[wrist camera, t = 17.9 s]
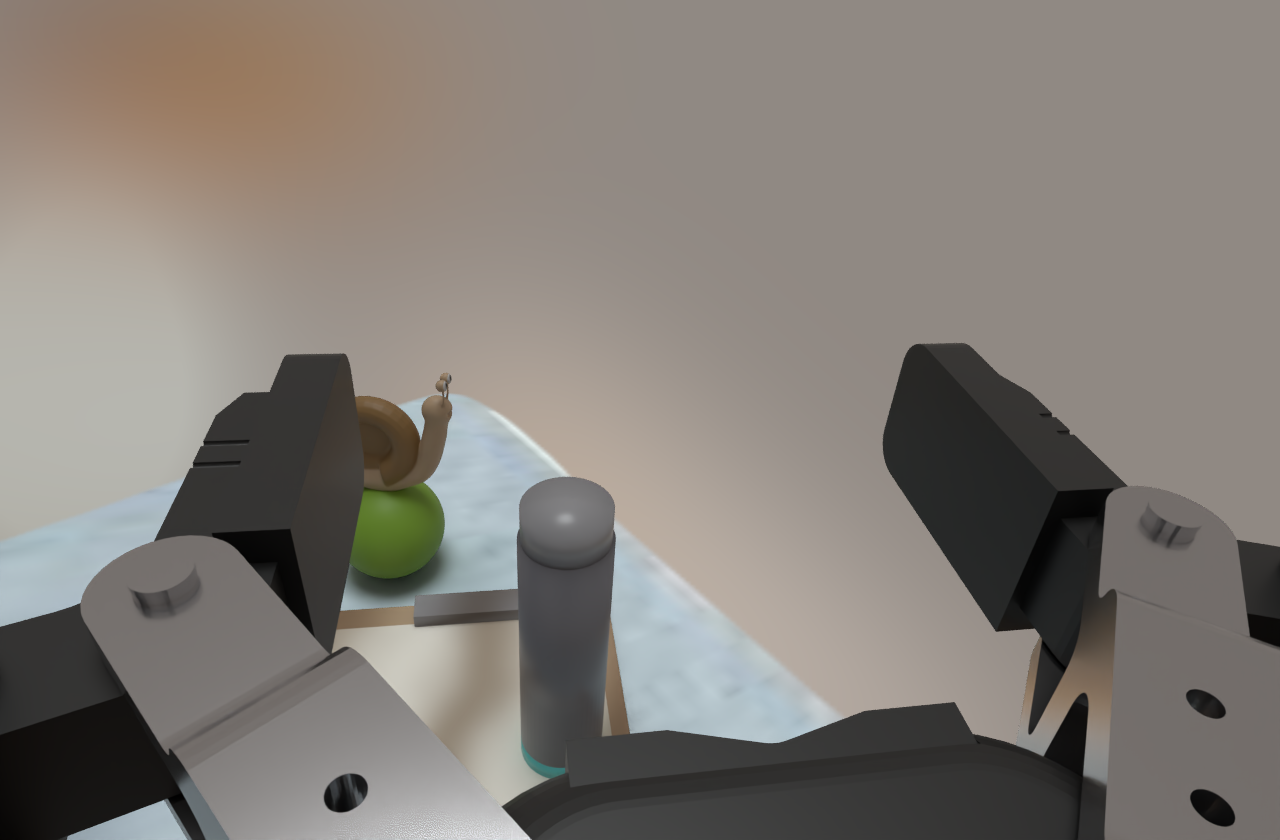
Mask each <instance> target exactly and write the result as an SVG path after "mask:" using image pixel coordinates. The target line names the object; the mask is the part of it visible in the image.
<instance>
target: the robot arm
mask: <svg viewBox="0 0 1280 840" xmlns="http://www.w3.org/2000/svg"><path fill="white" fill-rule="evenodd" d="M1069 431H1070V430H1069V429H1068V428H1067V427H1066V426H1065V425H1064V424H1063V423H1062V422H1060V420H1058V419H1057V418H1056V417H1053V418H1052V413H1051V412H1050V411H1049V410H1048V409H1047V408H1046V407H1045V406H1044V405H1043V404H1042V403H1041V402H1040V401H1039V400H1038V399H1037V398H1035V397H1034V396H1033V395H1032V394H1031V393H1030V392H1028V391H1027V390H1025V389H1023V388H1022V387H1020V386H1018V385H1016V384H1015V383H1013V382H1011V381H1009V380H1007V379H1006V378H1004V377H1002V376H1000V375H999V374H998V373H997V372H996V371H995V370H994V369H993V368H992V367H991V366H990V365H989V364H988V363H987V362H986V361H985V360H984V359H983V358H982V357H981V356H980V355H979V354H978V353H977V352H976V351H974V349H973V348H971V347H970V346H969V345H967V344H964V343H946V344H916V345H914V346H912V347H911V348H910V349H909V350H908V352H907V353H906V356H905V358H904V361H903V364H902V368H901V372H900V375H899V379H898V382H897V386H896V390H895V393H894V397H893V401H892V404H891V408H890V411H889V415H888V419H887V423H886V426H885V430H884V435H883V453H884V459H885V463H886V466H887V468H888V470H889V472H890V474H891V475H892V477H893V478H894V480H895V481H896V483H897V484H898V486H899V487H900V489H901V490H902V492H903V493H904V495H905V496H906V498H907V499H908V501H909V502H910V504H911V505H912V507H913V508H914V510H915V511H916V513H917V514H918V516H919V517H920V519H921V520H922V522H923V523H924V524H925V526H926V528H927V529H928V531H929V532H930V534H931V535H932V537H933V538H934V540H935V541H936V543H937V544H938V545H939V547H940V548H941V550H942V551H943V553H944V554H945V556H946V557H947V559H948V561H949V562H950V564H951V565H952V567H953V568H954V569H955V571H956V572H957V574H958V575H959V577H960V578H961V580H962V581H963V583H964V584H965V586H966V587H967V589H968V590H969V592H970V593H971V595H972V596H973V598H974V599H975V601H976V602H977V604H978V605H979V606H980V608H981V610H982V611H983V613H984V614H985V616H986V617H987V619H988V620H989V622H990V623H991V625H992V626H993V628H994V629H995V631H996V632H998V631H1010V630H1022V629H1034V628H1035V629H1036V631H1037V632H1038V633H1039V635H1040V637H1039V639H1038V641H1037V643H1036V645H1035V648H1034V649H1033V652H1032V655H1031V659H1030V665H1029V670H1028V677H1027V683H1026V689H1025V695H1024V700H1023V707H1022V712H1021V718H1020V725H1019V730H1018V736H1017V742H1016V745H1013V744H1010V743H1007V742H1004V741H1001V740H996V739H992V738H988V737H984V736H980V735H975V734H972V732H971V731H970V729H969V727H968V725H967V723H966V722H965V720H964V718H963V716H962V715H961V713H960V711H959V709H958V707H957V706H956V704H955V703H954V702H952V703H942V704H932V705H921V706H912V707H902V708H890V709H880V710H871V711H864V712H861V713H858V714H856V715H853V716H850V717H848V718H845V719H842V720H840V721H837V722H835V723H832V724H829V725H827V726H824V727H821V728H819V729H816V730H813V731H811V732H808V733H805V734H803V735H800V736H798V737H795V738H792V739H790V740H787V741H784V742H780V743H760V742H752V741H745V740H737V739H730V738H722V737H715V736H707V735H699V734H692V733H684V732H677V731H669V730H665V731H654V732H644V733H634V734H623V735H613V736H603V737H593V738H582V739H572V740H566V750H565V773H564V774H562V775H559V776H557V777H554V778H551V779H549V780H546V781H544V782H542V783H540V784H538V785H536V786H535V787H533V788H531V789H529V790H527V791H525V792H523V793H521V794H519V795H518V796H516V797H515V798H513V799H512V800H510V801H509V802H507V803H506V804H504V805H503V806H500V805H499V804H498V803H497V802H496V800H495V799H494V798H493V797H492V796H491V795H490V794H489V793H488V792H487V791H486V790H485V788H484V787H483V786H482V785H481V784H480V783H479V782H478V781H477V780H476V779H475V778H474V776H473V775H472V774H471V773H470V772H469V771H468V770H467V769H466V768H465V767H464V766H463V765H462V763H461V762H460V761H459V760H458V759H457V758H456V757H455V756H454V755H453V754H452V753H451V751H450V750H449V749H448V748H447V747H446V746H445V745H444V744H443V743H442V742H441V741H440V739H439V738H438V737H437V736H436V735H435V734H434V733H433V732H432V731H431V730H430V729H429V727H428V726H427V725H426V724H425V723H424V722H423V721H422V720H421V719H420V718H419V717H418V716H417V714H416V713H415V712H414V711H413V710H412V709H411V708H410V707H409V706H408V705H407V704H406V702H405V701H404V700H403V699H402V698H401V697H400V696H399V695H398V694H397V693H396V692H395V690H394V689H393V688H392V687H391V686H390V685H389V684H388V683H387V682H386V681H385V680H384V678H383V677H382V676H381V675H380V674H379V673H378V672H377V671H376V670H375V669H374V668H373V667H372V665H371V664H370V663H369V662H368V661H367V660H366V659H365V658H364V657H363V656H362V655H361V654H360V653H358V652H357V651H356V650H354V649H352V648H351V647H347V646H346V647H342V648H341V649H339V650H337V651H335V652H334V653H332V649H333V644H334V639H335V634H336V629H337V624H338V619H339V613H340V608H341V603H342V598H343V593H344V588H345V583H346V578H347V573H348V567H349V562H350V557H351V552H352V547H353V542H354V537H355V532H356V527H357V522H358V516H359V511H360V506H361V501H362V496H363V488H364V456H363V447H362V441H361V434H360V428H359V421H358V414H357V408H356V401H355V395H354V388H353V381H352V375H351V369H350V364H349V361H348V358H347V356H346V354H300V355H299V354H298V355H286V356H285V357H284V359H283V361H282V363H281V366H280V368H279V370H278V373H277V375H276V378H275V380H274V383H273V385H272V387H271V390H270V392H259V393H258V392H257V393H243V394H242V395H241V396H240V397H238V398H237V399H236V400H235V401H233V402H232V403H231V404H230V405H228V406H227V407H226V408H225V409H223V410H222V411H221V412H220V413H219V414H217V415H216V417H215V419H214V421H213V423H212V425H211V427H210V429H209V431H208V433H207V435H206V437H205V439H204V441H203V442H204V446H201V447H200V449H199V451H198V453H197V455H196V457H195V459H194V462H193V468H190V469H189V472H188V473H187V475H186V478H185V480H184V482H183V484H182V486H181V488H180V490H179V492H178V494H177V496H176V498H175V500H174V502H173V504H172V506H171V508H170V510H169V512H168V514H167V516H166V518H165V520H164V522H163V524H162V526H161V528H160V530H159V532H158V534H157V536H156V538H155V540H154V542H150V543H148V544H145V545H142V546H140V547H137V548H135V549H133V550H131V551H129V552H127V553H125V554H123V555H122V556H120V557H118V558H117V559H115V560H113V561H112V562H111V563H109V564H108V565H107V566H105V567H104V568H103V569H102V570H101V571H100V572H99V573H98V574H97V575H96V576H95V577H94V578H93V579H92V581H91V582H90V583H89V585H88V586H87V588H86V590H85V592H84V594H83V596H82V600H81V603H80V604H77V605H75V606H72V607H69V608H66V609H63V610H60V611H57V612H53V613H50V614H46V615H42V616H39V617H35V618H31V619H28V620H24V621H20V622H16V623H13V624H9V625H5V626H2V627H0V840H67V837H68V836H69V835H71V834H74V833H77V832H79V831H82V830H85V829H87V828H90V827H93V826H95V825H98V824H101V823H103V822H106V821H109V820H112V819H114V818H117V817H120V816H122V815H125V814H128V813H130V812H133V811H136V810H138V809H141V808H144V807H146V806H149V805H152V804H154V803H157V802H160V801H162V800H164V801H165V802H166V804H167V806H168V808H169V809H170V811H171V813H172V814H173V816H174V818H175V819H176V821H177V823H178V825H179V826H180V828H181V830H182V831H183V833H184V835H185V836H186V838H187V840H1280V547H1277V546H1271V545H1265V544H1259V543H1252V542H1247V541H1240V540H1236V537H1235V536H1234V534H1233V532H1232V531H1231V530H1230V528H1229V527H1228V526H1227V525H1226V524H1225V523H1224V522H1223V521H1222V520H1221V519H1220V518H1219V517H1218V516H1216V515H1215V514H1214V513H1212V512H1211V511H1209V510H1208V509H1206V508H1205V507H1203V506H1201V505H1200V504H1198V503H1196V502H1194V501H1192V500H1189V499H1187V498H1185V497H1183V496H1180V495H1178V494H1175V493H1172V492H1169V491H1165V490H1161V489H1157V488H1152V487H1144V486H1127V485H1126V484H1125V483H1124V482H1123V481H1122V480H1121V479H1120V478H1119V477H1118V476H1117V475H1116V474H1115V473H1114V472H1113V471H1111V470H1110V469H1109V468H1108V467H1107V466H1106V465H1105V464H1104V463H1103V462H1102V461H1101V460H1100V459H1099V458H1098V457H1097V456H1096V455H1095V454H1094V453H1093V452H1092V451H1091V450H1090V449H1089V448H1087V446H1086V445H1084V444H1083V443H1082V442H1081V441H1080V440H1079V439H1078V438H1077V437H1076V436H1075V435H1070V433H1069Z"/></svg>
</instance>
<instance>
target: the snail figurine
mask: <svg viewBox="0 0 1280 840" xmlns="http://www.w3.org/2000/svg"><path fill="white" fill-rule="evenodd" d="M450 382H451V375H450V374H449V373H443V374H442V375H441V377H440V381H438V382H437V383H436V389H437V390H438V391H439V392H442V395H443V396H439V395H435V396H431V397H429V398H427V399H426V400H425V401H424V403H423V405H422V415H423V417H424V420H425V425H424V430H423V434H422V439H421V440H420V436H419V433H418V430H417V428H416V426H415V424H414V423H413V421H412V420H411V419H410V417H409V416H408V415H407V414H406V413H405V412H404V411H403V410H401V409H400V408H399V407H397V406H396V405H394V404H392V403H391V402H389V401H386V400H383V399H381V398H376V397H371V396H358V397H355V401H356V408H357V414H358V421H359V428H360V434H361V441H362V447H363V456H364V488H363V496H362V501H361V506H360V511H359V516H358V522H357V527H356V532H355V537H354V542H353V547H352V552H351V557H350V562H349V563H350V564H351V565H352V566H353V567H355V568H356V569H357V570H359V571H361V572H362V573H365V574H367V575H370V576H373V577H377V578H386V579H389V578H398V577H403V576H406V575H409V574H411V573H413V572H415V571H417V570H419V569H420V568H422V567H423V566H424V565H425V564H427V563H428V562H429V561H430V560H431V558H432V557H433V556H434V555H435V553H436V552H437V550H438V548H439V546H440V544H441V541H442V538H443V534H444V527H445V520H444V513H443V509H442V506H441V504H440V501H439V499H438V498H437V496H436V495H435V493H434V492H433V491H432V490H431V489H430V488H429V487H428V486H427V485H426V484H425V483H423V482H424V481H426V480H427V479H428V478H430V477H431V475H432V474H433V473H434V472H435V470H436V468H437V467H438V465H439V462H440V460H441V457H442V454H443V450H444V446H445V441H446V437H447V427H448V422H449V420H450V418H451V416H452V404H451V403H450V401H449V400H448V384H449V383H450ZM446 390H447V395H446V397H444V391H446Z"/></svg>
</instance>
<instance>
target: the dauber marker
mask: <svg viewBox="0 0 1280 840" xmlns="http://www.w3.org/2000/svg"><path fill="white" fill-rule="evenodd" d="M614 513H615V505H614V501H613V499H612V497H611V495H610V494H609V493H608V492H607V491H606V490H605V489H604V488H603V487H601V486H600V485H598V484H596V483H594V482H592V481H589V480H585V479H581V478H576V477H558V478H552V479H548V480H545V481H542V482H539V483H537V484H535V485H534V486H532V487H531V488H530V489H528V490H527V491H526V492H525V494H524V495H523V496H522V498H521V500H520V504H519V520H520V529H519V531H518V534H517V570H518V619H519V668H520V717H521V750H522V754H523V757H524V760H525V761H526V763H527V764H528V766H529V767H530V768H531V769H532V770H533V771H535V772H536V773H538V774H539V775H541V776H543V777H546V778H550V779H551V778H554V777H557V776H559V775H562V774H564V773H565V750H566V740H572V739H582V738H593V737H602V731H603V716H604V702H605V687H606V672H607V658H608V643H609V629H610V614H611V600H612V585H613V571H614V556H615V542H616V537H615V532H614V530H613V528H614Z"/></svg>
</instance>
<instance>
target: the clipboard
mask: <svg viewBox="0 0 1280 840" xmlns="http://www.w3.org/2000/svg"><path fill="white" fill-rule="evenodd" d="M346 646H347V647H351V648H352V649H354V650H356V651H357V652H358V653H360V654H361V655H362V656H363V657H364V658H365V659H366V660H367V661H368V662H369V663H370V664H371V665H372V667H373V668H374V669H375V670H376V671H377V672H378V673H379V674H380V675H381V676H382V677H383V678H384V680H385V681H386V682H387V683H388V684H389V685H390V686H391V687H392V688H393V689H394V690H395V692H396V693H397V694H398V695H399V696H400V697H401V698H402V699H403V700H404V701H405V702H406V704H407V705H408V706H409V707H410V708H411V709H412V710H413V711H414V712H415V713H416V714H417V716H418V717H419V718H420V719H421V720H422V721H423V722H424V723H425V724H426V725H427V726H428V727H429V729H430V730H431V731H432V732H433V733H434V734H435V735H436V736H437V737H438V738H439V739H440V741H441V742H442V743H443V744H444V745H445V746H446V747H447V748H448V749H449V750H450V751H451V753H452V754H453V755H454V756H455V757H456V758H457V759H458V760H459V761H460V762H461V763H462V765H463V766H464V767H465V768H466V769H467V770H468V771H469V772H470V773H471V774H472V775H473V776H474V778H475V779H476V780H477V781H478V782H479V783H480V784H481V785H482V786H483V787H484V788H485V790H486V791H487V792H488V793H489V794H490V795H491V796H492V797H493V798H494V799H495V800H496V802H497V803H498V804H499V805H500V806H503V805H504V804H506V803H507V802H509V801H510V800H512V799H513V798H515V797H516V796H518V795H519V794H521V793H523V792H525V791H527V790H529V789H531V788H533V787H535V786H536V785H538V784H540V783H542V782H544V781H546V780H549V779H550V778H546V777H543V776H541V775H539V774H538V773H536V772H535V771H533V770H532V769H531V768H530V767H529V766H528V764H527V763H526V761H525V760H524V757H523V754H522V750H521V717H520V668H519V619H518V589H509V590H494V591H479V592H464V593H449V594H434V595H419V596H415V605H414V606H405V607H391V608H376V609H362V610H347V611H340V613H339V619H338V624H337V629H336V634H335V639H334V644H333V649H332V653H334V652H335V651H337V650H339V649H341V648H342V647H346ZM623 734H630V732H629V726H628V720H627V714H626V708H625V702H624V696H623V690H622V684H621V678H620V672H619V666H618V660H617V654H616V648H615V642H614V636H613V630H612V624H611V618H610V629H609V643H608V658H607V672H606V687H605V702H604V716H603V731H602V737H603V736H613V735H623Z"/></svg>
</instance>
